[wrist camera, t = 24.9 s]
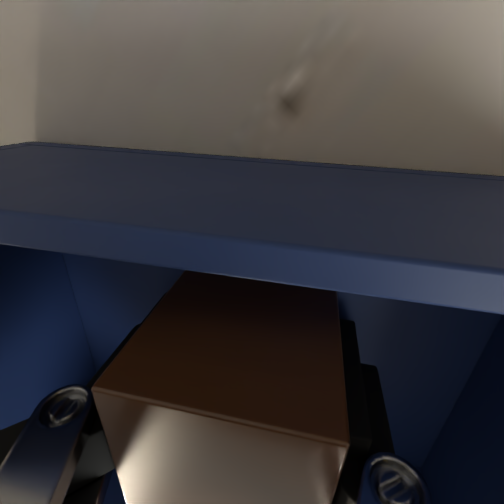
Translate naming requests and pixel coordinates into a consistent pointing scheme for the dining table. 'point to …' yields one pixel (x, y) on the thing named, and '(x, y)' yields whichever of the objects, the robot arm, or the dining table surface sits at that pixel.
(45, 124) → the dining table surface
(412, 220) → the lower bin
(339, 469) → the block
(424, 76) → the dining table surface
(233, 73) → the dining table surface
